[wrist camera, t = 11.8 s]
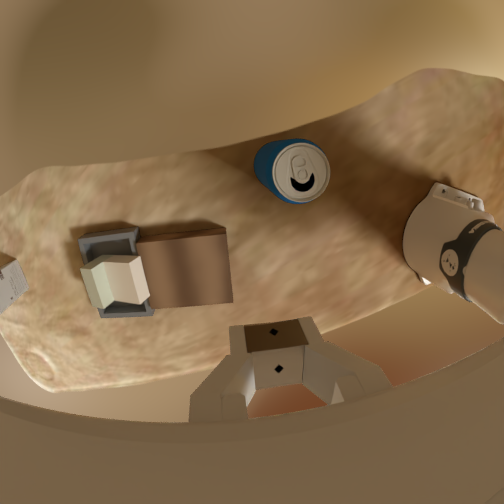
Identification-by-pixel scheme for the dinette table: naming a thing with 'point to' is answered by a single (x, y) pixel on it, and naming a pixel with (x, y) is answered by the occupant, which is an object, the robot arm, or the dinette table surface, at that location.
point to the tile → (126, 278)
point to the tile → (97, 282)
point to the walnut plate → (186, 268)
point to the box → (114, 245)
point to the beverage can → (293, 170)
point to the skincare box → (11, 284)
